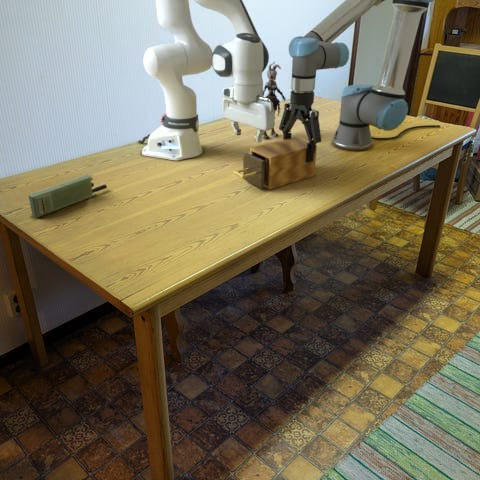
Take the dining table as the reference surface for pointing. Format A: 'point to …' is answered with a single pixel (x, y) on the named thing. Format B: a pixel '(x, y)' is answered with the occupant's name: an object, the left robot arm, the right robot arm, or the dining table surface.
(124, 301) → the dining table surface
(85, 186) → the handheld radio
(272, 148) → the cabinet
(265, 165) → the drawer
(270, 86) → the figurine
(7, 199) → the dining table surface
